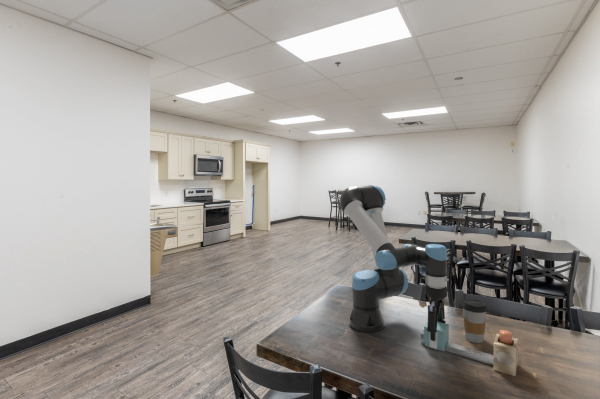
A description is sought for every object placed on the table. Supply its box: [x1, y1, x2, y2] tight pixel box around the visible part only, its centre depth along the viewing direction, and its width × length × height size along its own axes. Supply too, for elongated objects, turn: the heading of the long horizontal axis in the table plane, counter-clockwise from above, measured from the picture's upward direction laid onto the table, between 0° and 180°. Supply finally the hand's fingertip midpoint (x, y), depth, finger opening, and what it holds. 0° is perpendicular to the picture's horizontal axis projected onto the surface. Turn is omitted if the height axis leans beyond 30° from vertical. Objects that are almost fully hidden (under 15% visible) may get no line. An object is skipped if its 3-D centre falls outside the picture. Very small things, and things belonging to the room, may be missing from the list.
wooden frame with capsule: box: [492, 333, 519, 377], centre depth 101 cm, size 6×8×9 cm
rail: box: [420, 329, 494, 366], centre depth 111 cm, size 26×3×4 cm, turn 50°
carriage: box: [423, 321, 450, 352], centre depth 116 cm, size 7×7×8 cm
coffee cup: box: [462, 298, 488, 344], centre depth 119 cm, size 8×8×15 cm
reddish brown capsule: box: [498, 329, 513, 344], centre depth 101 cm, size 4×4×3 cm
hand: (436, 343), depth 116 cm, fingers closed on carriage, 7 cm apart
